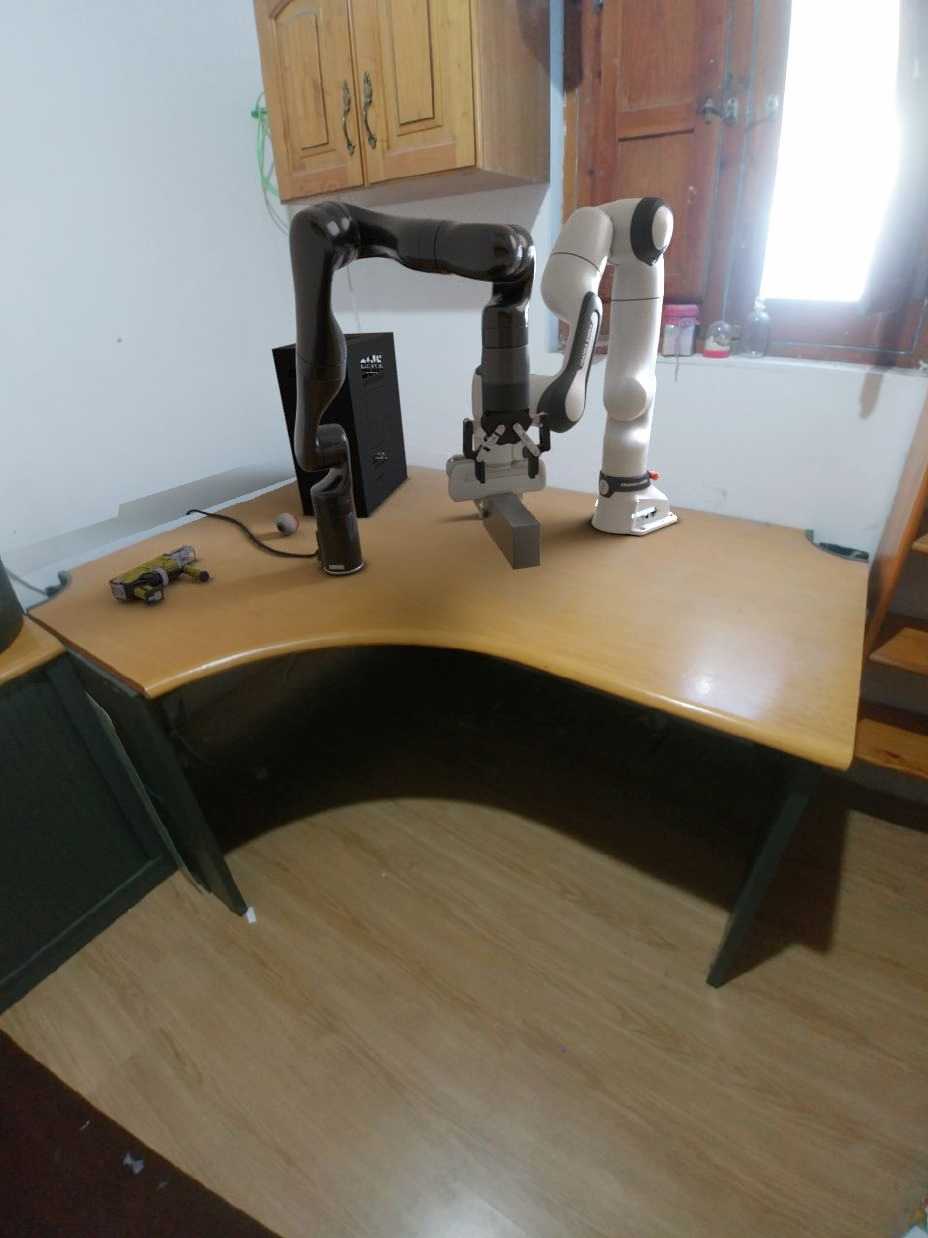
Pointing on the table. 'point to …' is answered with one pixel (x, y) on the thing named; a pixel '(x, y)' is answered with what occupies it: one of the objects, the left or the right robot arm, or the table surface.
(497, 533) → the bar
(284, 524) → the eyeball
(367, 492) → the cardboard box
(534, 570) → the table surface
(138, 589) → the toy gun
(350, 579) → the table surface
